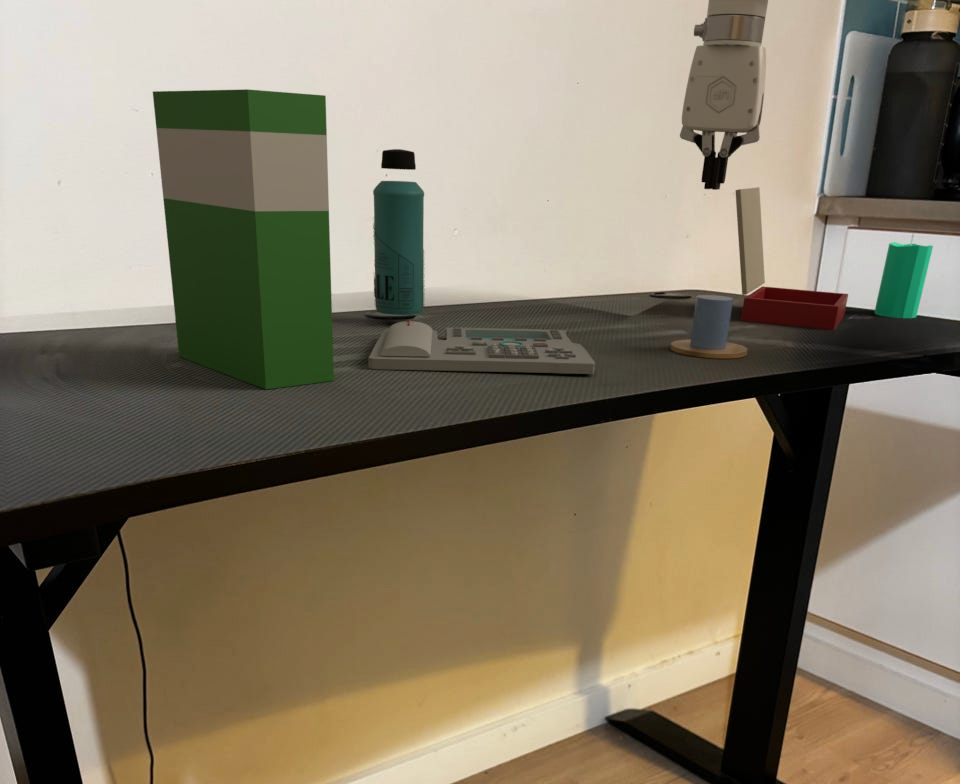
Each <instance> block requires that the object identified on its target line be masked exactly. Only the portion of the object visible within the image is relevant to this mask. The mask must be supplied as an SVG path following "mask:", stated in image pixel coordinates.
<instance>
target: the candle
mask: <svg viewBox="0 0 960 784" xmlns="http://www.w3.org/2000/svg"><path fill="white" fill-rule="evenodd" d="M914 235H915V232H913V233H912V236H911V240H910V243H908V244H907V243H906V244H903V243H899V242H896V241H894V242H890V243H888V248H887V252H886V256H885V257H886V258H885V262H884V266H883V270H882V275H881V278H880V279H881V280H880V284H879V289H878V294H877V298H876V303H875V307H874V314H875V315H877V316H881V317H887V318H895V319H914V318H915V319H916V318H917V315H918V311H919V307H920V303H921V299H922V295H923V291H924V286H925V282H926V278H927V273H928V270H929V266H930V265H929V264H930V261H931V256H932V253H933V247H934V245H930V244H929V245H921V244H917V243H913V240H914Z"/></svg>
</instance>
